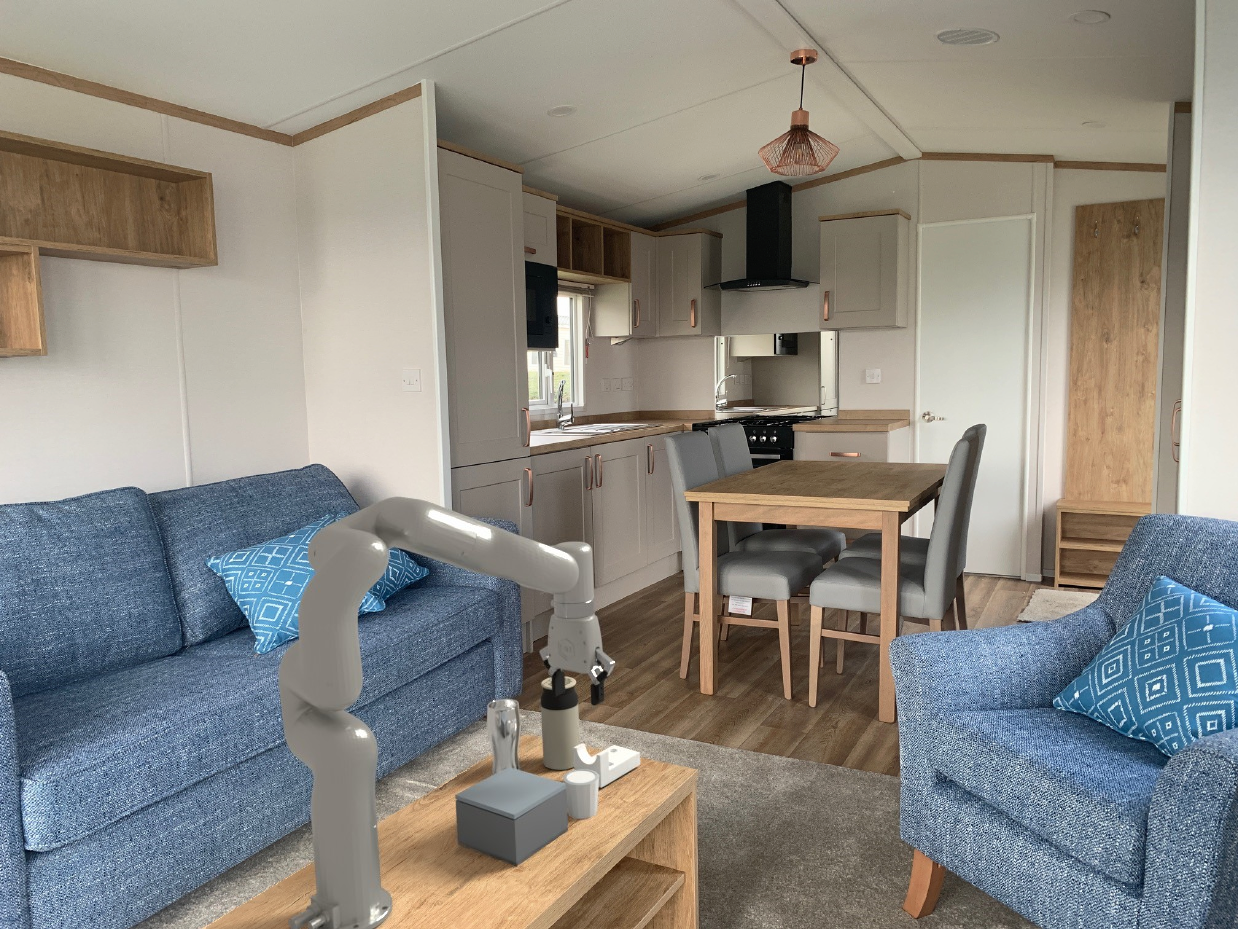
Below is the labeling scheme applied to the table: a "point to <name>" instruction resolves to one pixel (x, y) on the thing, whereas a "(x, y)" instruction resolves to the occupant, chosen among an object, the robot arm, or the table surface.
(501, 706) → the silver metal tumbler
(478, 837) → the storage box
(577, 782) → the white cup
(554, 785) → the lid
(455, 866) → the table surface
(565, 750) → the travel mug
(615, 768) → the bracket
